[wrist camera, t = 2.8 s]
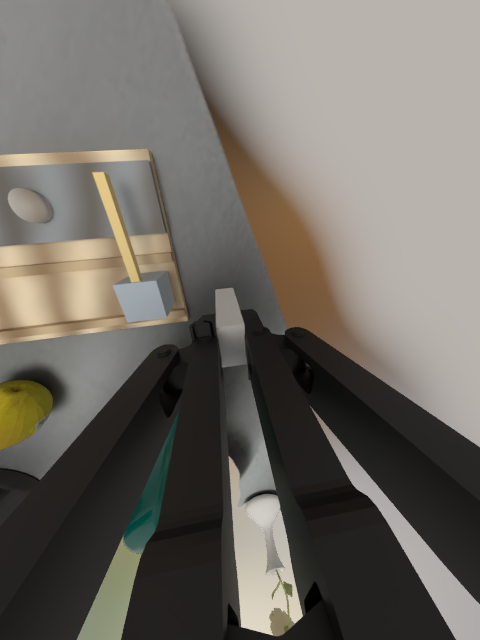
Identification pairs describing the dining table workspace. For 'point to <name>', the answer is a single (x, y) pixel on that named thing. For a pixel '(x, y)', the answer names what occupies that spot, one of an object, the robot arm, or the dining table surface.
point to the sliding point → (134, 268)
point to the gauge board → (77, 242)
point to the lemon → (22, 410)
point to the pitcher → (150, 500)
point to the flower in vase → (271, 553)
